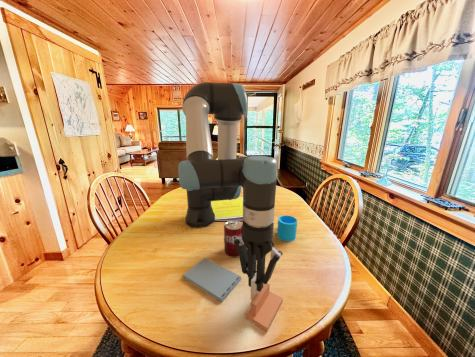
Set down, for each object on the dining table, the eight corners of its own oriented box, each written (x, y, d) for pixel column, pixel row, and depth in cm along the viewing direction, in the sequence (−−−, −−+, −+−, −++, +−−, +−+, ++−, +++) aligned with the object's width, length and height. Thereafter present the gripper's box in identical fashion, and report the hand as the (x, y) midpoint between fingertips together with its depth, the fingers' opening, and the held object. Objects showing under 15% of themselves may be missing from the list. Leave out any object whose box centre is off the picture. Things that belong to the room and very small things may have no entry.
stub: (246, 318, 50) (246, 303, 49) (263, 291, 58) (264, 278, 57) (267, 331, 47) (268, 316, 46) (282, 301, 55) (283, 288, 53)
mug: (297, 241, 82) (299, 224, 80) (278, 241, 83) (279, 224, 80) (291, 227, 94) (292, 211, 92) (274, 226, 94) (275, 211, 92)
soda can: (224, 246, 79) (223, 220, 76) (242, 245, 80) (242, 219, 76) (224, 258, 72) (224, 230, 69) (244, 257, 73) (244, 229, 69)
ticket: (183, 277, 63) (183, 274, 63) (204, 260, 71) (204, 257, 71) (221, 302, 54) (221, 298, 54) (241, 279, 62) (241, 275, 62)
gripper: (227, 219, 47) (228, 295, 54) (277, 236, 40) (271, 321, 47) (243, 208, 53) (242, 278, 60) (289, 221, 46) (282, 298, 53)
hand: (255, 297), depth 53 cm, fingers closed
